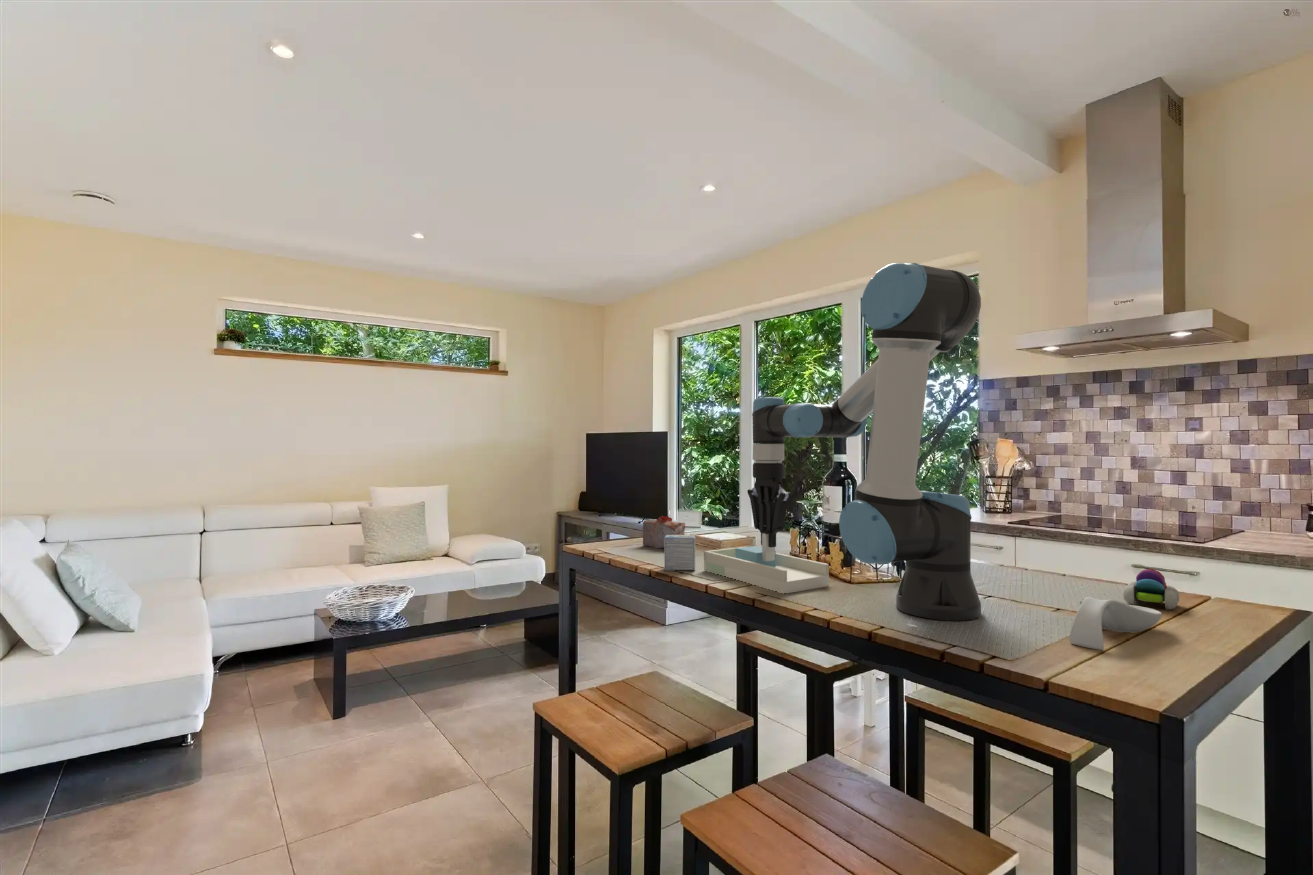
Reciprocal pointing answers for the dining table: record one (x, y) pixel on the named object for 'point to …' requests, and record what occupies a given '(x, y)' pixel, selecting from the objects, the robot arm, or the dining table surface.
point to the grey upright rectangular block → (679, 552)
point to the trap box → (769, 571)
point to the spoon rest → (1108, 620)
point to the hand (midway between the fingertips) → (768, 560)
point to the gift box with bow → (660, 531)
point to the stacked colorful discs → (1151, 590)
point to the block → (753, 555)
